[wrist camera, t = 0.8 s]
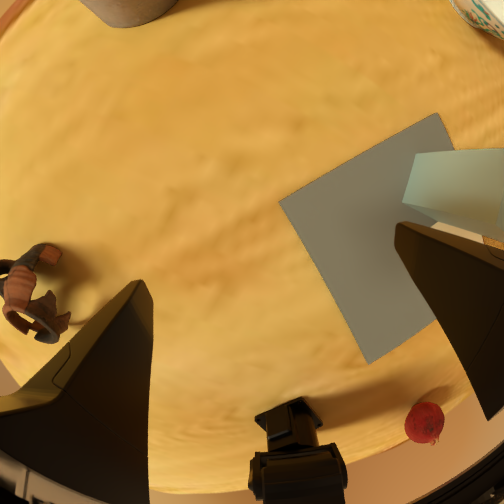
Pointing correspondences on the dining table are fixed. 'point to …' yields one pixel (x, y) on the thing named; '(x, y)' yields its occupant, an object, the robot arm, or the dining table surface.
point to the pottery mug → (19, 295)
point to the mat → (370, 236)
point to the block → (460, 189)
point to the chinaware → (482, 15)
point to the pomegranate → (424, 423)
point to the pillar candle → (128, 11)
